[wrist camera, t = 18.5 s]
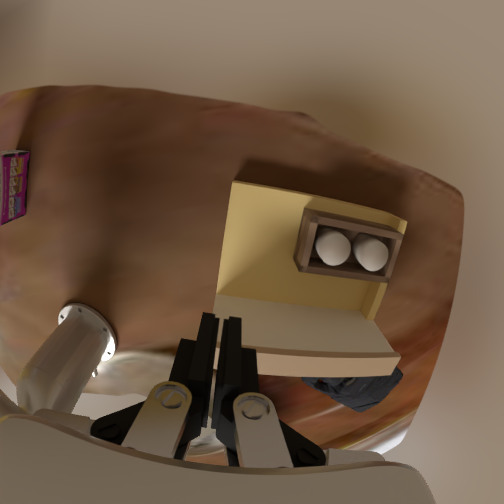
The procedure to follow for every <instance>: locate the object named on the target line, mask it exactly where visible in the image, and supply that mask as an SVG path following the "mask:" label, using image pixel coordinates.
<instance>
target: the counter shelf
mask: <svg viewBox="0 0 504 504" xmlns="http://www.w3.org/2000/svg"><path fill="white" fill-rule="evenodd" d="M304 208H309V209H314V210H320V211H325V212H330V213H335V214H340V215H344V216H349V217H354V218H358V219H363V220H368V221H372V222H376V223H381V224H385V225H389V226H390V227H392V228H394V229H396V230H397V231H399V232H401V233H402V234H404V232H405V229H406V225H407V221H405V220H403V219H401V218H399V217H397V216H395V215H393V214H391V213H389V212H385V211H382V210H378V209H374V208H370V207H366V206H362V205H358V204H354V203H349V202H345V201H341V200H336V199H332V198H327V197H323V196H318V195H313V194H309V193H304V192H299V191H293V190H288V189H283V188H278V187H272V186H266V185H261V184H255V183H249V182H242V181H236V180H233V182H232V188H231V195H230V201H229V207H228V214H227V221H226V227H225V234H224V241H223V248H222V255H221V262H220V270H219V277H218V285H217V292H216V298H215V304H214V309H213V314H215V317H216V318H220V321H219V329H218V336H217V344H216V352H215V360H214V368H213V369H217V364H218V357H219V349H220V342H221V335H222V328H223V321H224V319H229V316H233V317H240V318H242V347H244V348H253V349H256V352H257V368H258V374H266V375H280V376H299V377H367V376H385V375H391V374H392V372H393V370H394V369H395V367H396V365H397V363H398V362H399V360H400V358H401V356H400V355H399V353H398V352H394V351H393V349H392V348H391V346H390V345H389V343H388V342H387V340H386V339H385V337H384V336H383V334H382V333H381V331H380V330H379V328H378V327H377V325H376V324H375V322H374V321H373V320H374V318H375V315H376V313H377V310H378V308H379V305H380V303H381V300H382V298H383V295H384V293H385V290H386V287H387V285H388V283H380V282H372V281H364V280H357V279H349V278H341V277H333V276H326V275H318V274H311V273H303V272H299V271H298V269H297V266H296V264H295V262H294V260H293V255H294V251H295V247H296V242H297V238H298V233H299V228H300V224H301V219H302V214H303V210H304Z"/></svg>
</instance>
